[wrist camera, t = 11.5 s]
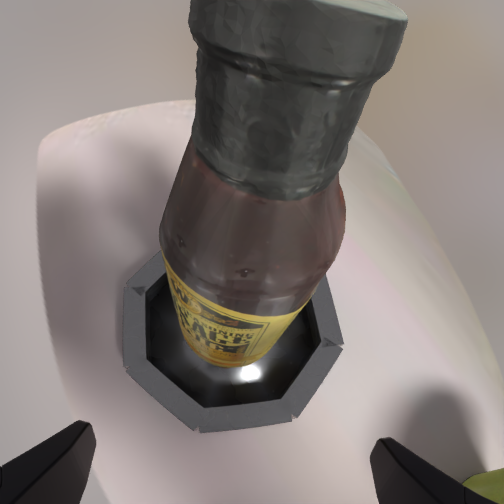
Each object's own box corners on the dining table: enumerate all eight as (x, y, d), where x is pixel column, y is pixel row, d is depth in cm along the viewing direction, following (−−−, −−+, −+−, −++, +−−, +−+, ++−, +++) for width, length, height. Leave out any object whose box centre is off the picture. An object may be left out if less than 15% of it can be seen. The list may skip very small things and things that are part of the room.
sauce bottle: (165, 321, 20) (71, -17, 4) (234, 271, 23) (273, -39, 6) (228, 395, 18) (327, 21, 2) (297, 335, 21) (477, 38, 4)
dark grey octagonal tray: (345, 408, 19) (359, 405, 17) (136, 434, 16) (126, 434, 15) (304, 237, 26) (311, 221, 24) (133, 249, 24) (127, 232, 22)
